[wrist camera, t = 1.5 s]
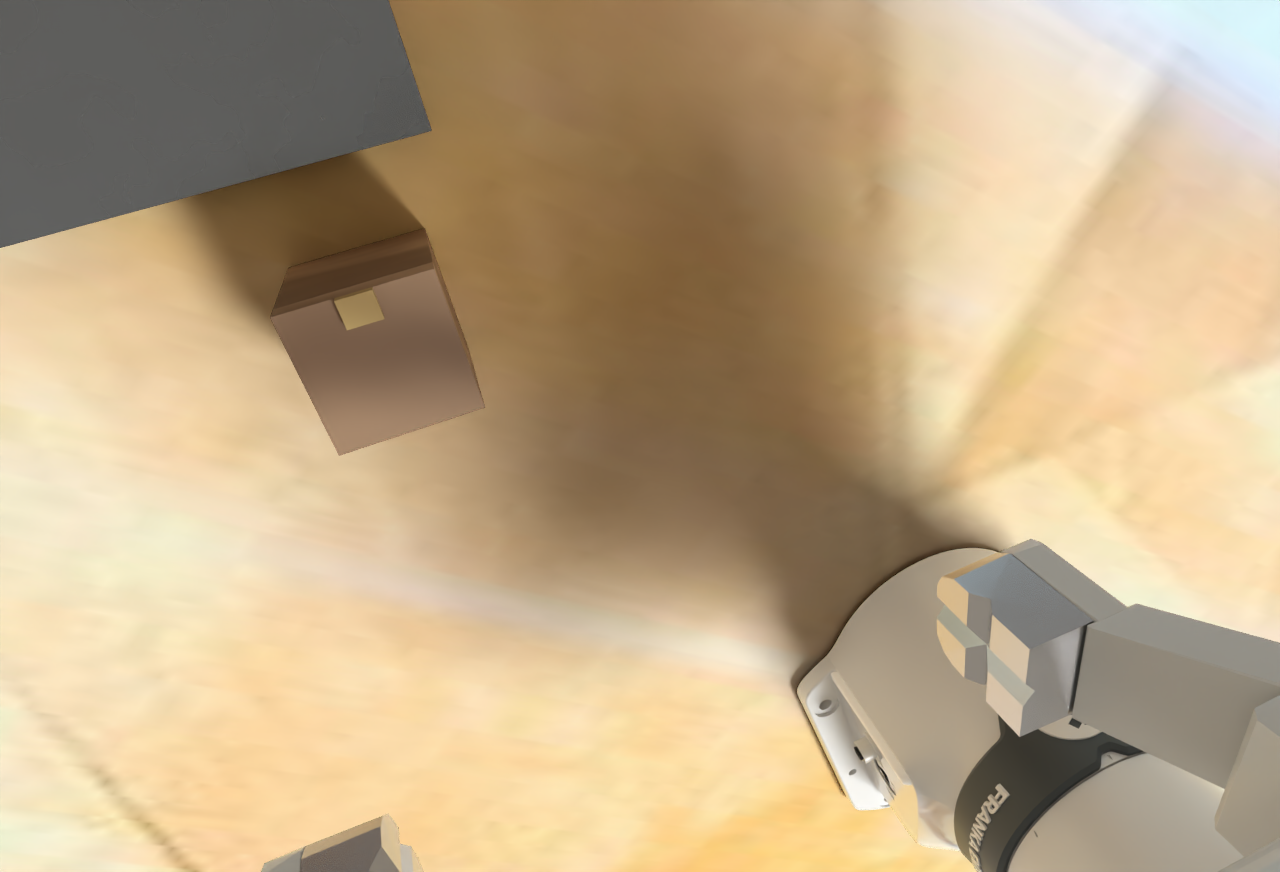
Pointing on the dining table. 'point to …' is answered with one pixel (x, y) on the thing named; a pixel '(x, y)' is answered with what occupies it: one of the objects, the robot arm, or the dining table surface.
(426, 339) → the taped cardboard carton
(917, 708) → the robot arm
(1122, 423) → the dining table surface
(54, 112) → the plate
